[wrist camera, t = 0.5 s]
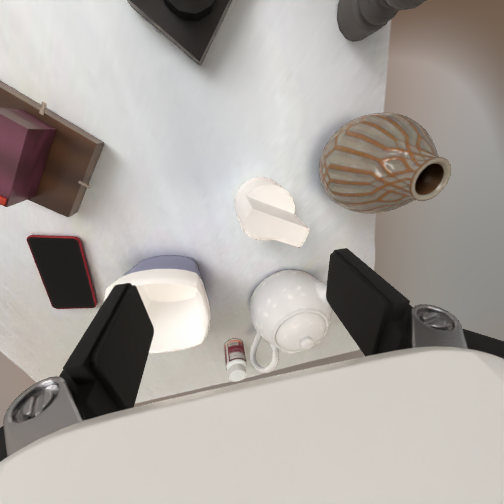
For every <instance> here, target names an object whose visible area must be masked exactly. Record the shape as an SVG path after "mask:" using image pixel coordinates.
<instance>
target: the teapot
mask: <svg viewBox="0 0 504 504" xmlns="http://www.w3.org/2000/svg"><path fill="white" fill-rule="evenodd" d="M326 289H327V284H326V283H324V282H321V281H318V280H317V279H316V278H314V277H313V276H312V275H310V274H308V273H306V272H303V271H299V270H285V271H280V272H277V273H274V274H272V275H271V276H269V277H267V278H266V279H265V280H263V281H262V282H261V283H260V284H259V285H258V286H257V288H256V289H255V291H254V292H253V295H252V297H251V301H250V316H251V320H252V323H253V325H254V327H255V329H256V335H255V337H254V340H253V342H252V345H251V349H250V361H251V363H252V365H253V366H254V368H255V369H257V370H258V371H260V372H262V373H269V372H271V371H272V370H274V368H275V367H276V366H277V364H278V360H279V351H278V349H279V350H281V351H283V352H286V353H298V352H302V351H305V350H307V349H309V348H311V347H313V346H315V345H316V344H317V343H318V342H320V341H321V340H322V338H323V337H324V336H325V334H326V332H327V330H328V324H329V321H330V316H331V306H330V305H329V303H328V302H327V299H326ZM261 337H262V338H263V339H264V340H265V341H266V342H268V343H269V344H270V347H271V348H272V351H273V356H272V360H271V362H270V363H269V364H268V365H267V366H266V367H261V366H260V365H259V364H258V363H257V361H256V350H257V347H258V344H259V342H260V340H261Z"/></svg>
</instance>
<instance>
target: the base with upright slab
mask: <svg viewBox="0 0 504 504" xmlns="http://www.w3.org/2000/svg"><path fill="white" fill-rule="evenodd" d="M234 207H235V211H236V214H237V217H238V220H239V223H240V226H241V228H242V229H243V231H244V232H245V233H246V234H247V235H248V236H250V237H252V238H254V239H256V240H262V241H264V240H272V239H273V240H276V241H280V242H283V243H286V244H289V245H292V246H295V247H298V248H300V247H301V246H302V244H303V243H304V241H305V240H306V238H307V236H308V233H309V230H310V229H309V228H308V227H307V226H306V225H305V224H304V223H303V222H302V221H301V220H300V219H299V218H298V217H297V216H296V215H295V205H294V201H293V199H292V197H291V195H290V194H289V193H288V192H287V191H286V190H285V189H284V188H282V187H281V186H280V185H279V184H277V183H276V182H274V181H273V180H271V179H269V178H265V177H256V178H252V179H250V180H248V181H246V182H245V183H243V185H242V186H241V187H240V188H239V189H238V191H237V193H236V196H235V200H234Z"/></svg>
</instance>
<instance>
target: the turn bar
mask: <svg viewBox="0 0 504 504" xmlns="http://www.w3.org/2000/svg"><path fill="white" fill-rule="evenodd" d="M55 132H56V129H55V128H53V127H52V126H50V125H48V124H46V123H45V122H43V121H41V120H39V119H38V118H36V117H34V116H32V115H31V114H29V113H27V112H25V111H24V110H19V109H10V108H1V107H0V205H3V206H5V207H8V206H11V205H14V204H16V203H19V202H22V201H24V200H27V199H30V198H32V197H35V196H36V193H37V189H38V186H39V183H40V180H41V177H42V173H43V170H44V167H45V164H46V161H47V157H48V154H49V151H50V148H51V145H52V142H53V138H54V135H55Z"/></svg>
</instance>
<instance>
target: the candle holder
mask: <svg viewBox="0 0 504 504" xmlns="http://www.w3.org/2000/svg"><path fill="white" fill-rule="evenodd" d="M424 1H426V0H339V3H338V12H337V20H338V24H339V28H340V31H341V32H342V34H343V35H344V36H345V38H347V39H349V40H351V41H359V40H362V39H364V38H366V37H367V36H369V35H371V34H372V33H374V32H376V31H377V30H379V29H380V28H382V27H383V26H384V25H386V24H387V22H388V21H389V20H390V19H392V18H393V17H394V16H395V15H396V13H397V12H398V11H399V10H405V9H412V8H415V7H417V6H419V5H420V4H422V3H423V2H424Z"/></svg>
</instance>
